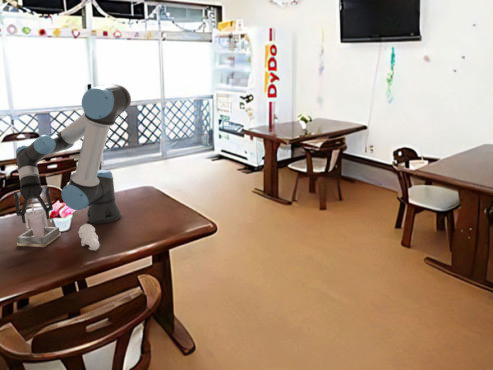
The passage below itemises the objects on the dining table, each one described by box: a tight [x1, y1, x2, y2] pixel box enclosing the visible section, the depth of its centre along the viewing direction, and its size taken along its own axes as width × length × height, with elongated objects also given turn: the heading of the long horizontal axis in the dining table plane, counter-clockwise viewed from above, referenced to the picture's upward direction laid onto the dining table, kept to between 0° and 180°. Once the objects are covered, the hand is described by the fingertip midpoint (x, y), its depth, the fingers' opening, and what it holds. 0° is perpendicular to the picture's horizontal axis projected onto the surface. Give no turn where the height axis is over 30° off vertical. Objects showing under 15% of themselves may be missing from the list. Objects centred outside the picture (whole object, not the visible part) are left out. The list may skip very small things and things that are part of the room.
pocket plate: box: [16, 226, 62, 248], centre depth 175 cm, size 12×12×4 cm
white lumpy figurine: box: [78, 223, 101, 251], centre depth 167 cm, size 6×8×12 cm
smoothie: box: [26, 203, 45, 237], centre depth 173 cm, size 6×6×14 cm
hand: (37, 227), depth 170 cm, fingers closed on smoothie, 6 cm apart
